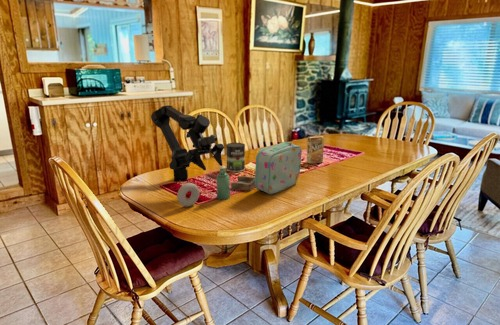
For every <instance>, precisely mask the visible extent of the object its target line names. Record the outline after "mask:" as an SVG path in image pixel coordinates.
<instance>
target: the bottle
mask: <svg viewBox="0 0 500 325" xmlns="http://www.w3.org/2000/svg"><path fill="white" fill-rule="evenodd" d="M226 171H227V165H226V166H225V165H222V166H220V165H219V173H218V174H217V175H216V199H217V198H218V200H220V201H224V200H229V199H230V198H231V197H230V196H231V194H230V192H231V190H230V189H231V183H230V174H228V172H226Z"/></svg>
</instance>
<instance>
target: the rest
mask: <svg viewBox="0 0 500 325" xmlns="http://www.w3.org/2000/svg"><path fill="white" fill-rule="evenodd" d="M253 187H255V176H254V177H253V176H244V175H238V176H237V181H232V182H231V183H230V189H232V190H239V189H240V190H241V191H249V192H250V191H252V190H253V189H254V188H253Z"/></svg>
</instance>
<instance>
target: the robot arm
mask: <svg viewBox="0 0 500 325" xmlns="http://www.w3.org/2000/svg"><path fill="white" fill-rule="evenodd" d="M150 119H151V121H152V122H153V124H154V125H155V126H156V127H157V128H159V129H160V131H161V133H162V135H163V137H164V139H165V140H166V143H167V145H168V147H169V149H170V151H171V156H170V157H171V158H170V159H171V161H170V163H169V165H168V166H169V169H170V170H173V182H186V181H188V179H189V173H188V168H190V165H191V164H193V165H195V166H197V167H199V168H200V169H201V170H203V171H206V170H207V168H206V166H205V164H204V162H203V160H202V158H201V156H202V155H207V154H211V155H212V158H213V159H214V160H215V161H216V162H217V164H218V165H219V167H220V166H223V158H222V152H223V151H224V149H225V147H226V146H225V145H223V143H216V142H218V137H217V135H216V134H215V133H213V134H212V133H211V135H210V136H204V135H203V134H204V133H205V132H206V130H207V129H208V127H209V126H210V125H211V121H210V119H209V118H208V117H206V116H203V114H197V116H193V115H190V114H185V113H182V112H181V111H179V110H178V109H176V108H175V107H173V105H169V104H167V105H163V106H161V107H160V108H158V109H156V110H154V111H153V112H152V113H151V116H150ZM171 119H172V120H174V121H175V122H176V123H177V124H178V127H179V128H180V129H181V130H183V131H185V130H188V131H187V132H186V135H185V136H186V137H185V138H187V139H190V141H191V142H192V149H189V150H188V149H186V148H182V147H181V144H180V142H179V140H178V138H177V137H176V135H175V133H174V131H173V129H172V127H171V125H170V121H171ZM215 143H216V144H215ZM212 144H214V146H213V145H212ZM212 146H213V147H212ZM211 147H212V148H211Z"/></svg>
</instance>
